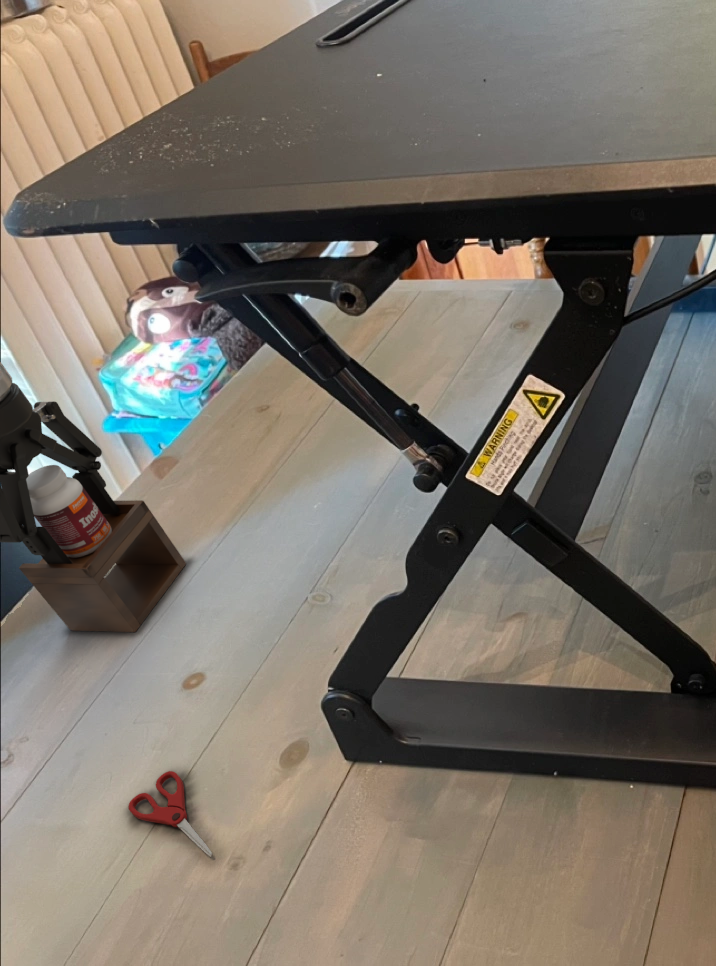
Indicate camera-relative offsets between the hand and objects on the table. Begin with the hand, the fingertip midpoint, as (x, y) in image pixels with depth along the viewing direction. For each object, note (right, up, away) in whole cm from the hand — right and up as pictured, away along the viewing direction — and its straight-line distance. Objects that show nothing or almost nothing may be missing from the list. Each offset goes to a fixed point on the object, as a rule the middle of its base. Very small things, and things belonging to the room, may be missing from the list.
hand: (86, 538), depth 134 cm
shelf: (+2, -8, +7) cm, 11 cm away
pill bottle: (0, -1, +1) cm, 1 cm away
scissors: (+24, -27, -23) cm, 43 cm away
